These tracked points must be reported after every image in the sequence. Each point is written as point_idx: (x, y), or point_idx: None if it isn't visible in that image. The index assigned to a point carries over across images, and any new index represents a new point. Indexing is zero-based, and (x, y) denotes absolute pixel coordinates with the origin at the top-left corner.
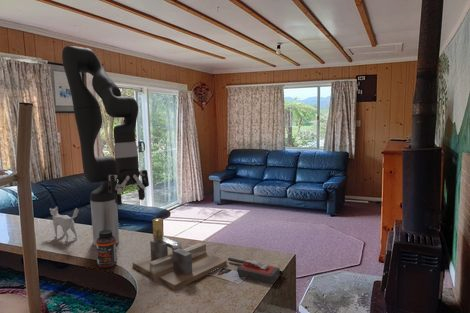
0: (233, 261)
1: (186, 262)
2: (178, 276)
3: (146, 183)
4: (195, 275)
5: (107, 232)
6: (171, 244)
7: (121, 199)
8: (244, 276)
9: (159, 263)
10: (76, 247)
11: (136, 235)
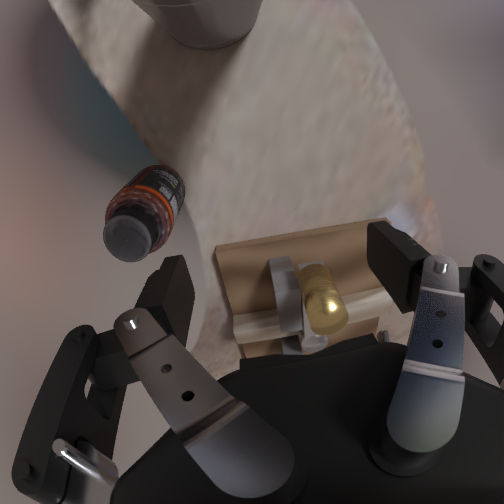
0: (383, 339)
1: None
2: (270, 352)
3: (471, 332)
4: None
5: (132, 255)
6: (305, 339)
7: (190, 319)
8: None
9: (251, 340)
10: (115, 7)
11: (331, 16)
